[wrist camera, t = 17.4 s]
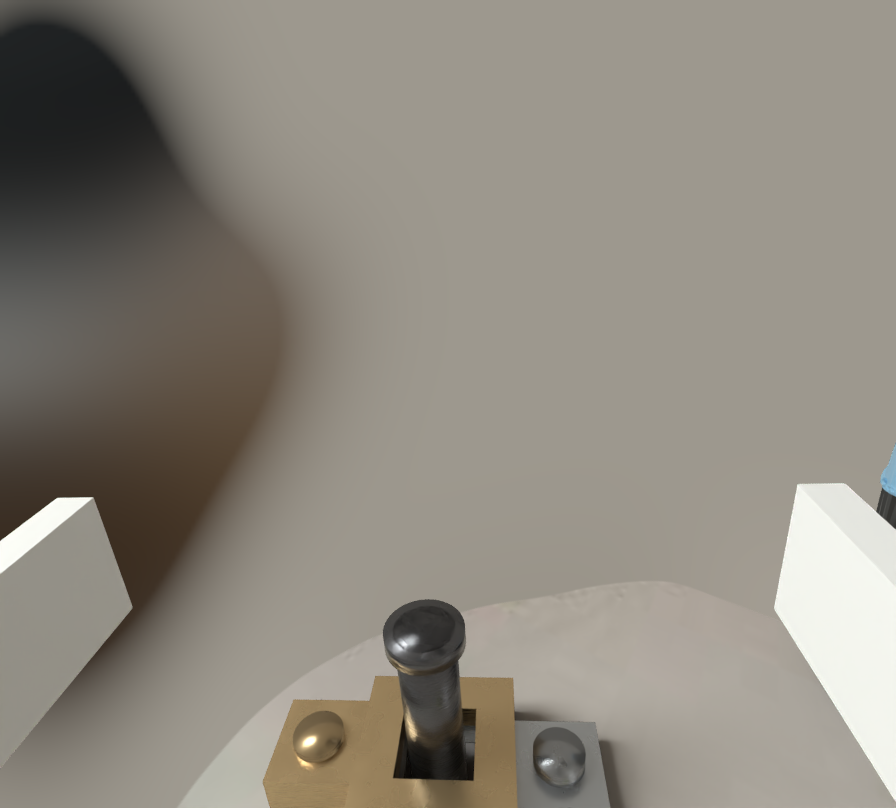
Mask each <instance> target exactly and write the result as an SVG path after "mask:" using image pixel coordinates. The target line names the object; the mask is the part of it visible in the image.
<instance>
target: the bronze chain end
mask: <svg viewBox="0 0 896 808" xmlns="http://www.w3.org/2000/svg"><path fill="white" fill-rule="evenodd" d="M460 688H461V701H462V713H463V725H465V726H476V732H475V760H474V781H460V780H428V779H398V777H399V771H400V765H401V759H402V752H403V746H404V740H405V733H406V728H405V721H404V714H403V706H402V699H401V692H400V685H399V677H398V676H375V680H374V684H373V688H372V693H371V697H370V701H346V700H293V703H292V706H291V708H290V711H289V713H288V716H287V719H286V721H285V724H284V727H283V729H282V732H281V735H280V737H279V740H278V742H277V745H276V748H275V750H274V753H273V756H272V758H271V761H270V764H269V766H268V769H267V771H266V774H265V777H264V779H263V785H264V788H265V792H266V795H267V799H268V802H269V806H270V808H518V806H517V777H516V748H515V719H514V689H513V678H478V677H460Z"/></svg>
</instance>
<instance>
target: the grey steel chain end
mask: <svg viewBox="0 0 896 808" xmlns="http://www.w3.org/2000/svg"><path fill="white" fill-rule="evenodd" d="M475 732H476V726H465V725H464V737H465V742H475ZM515 748H516V777H517V806H518V808H610V802H609V797H608V791H607V786H606V780H605V774H604V769H603V763H602V758H601V752H600V747H599V741H598V735H597V730H596V724H595V722H558V721H515ZM407 752H408V743H407V735H406V733H405V740H404V746H403V752H402V759H401V765H400V771H399V777H398V779H403V778H404V772H405V765H406V758H407Z"/></svg>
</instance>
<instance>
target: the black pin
mask: <svg viewBox="0 0 896 808" xmlns="http://www.w3.org/2000/svg"><path fill="white" fill-rule="evenodd" d="M383 639H384V646H385V652H386V656H387V658H388V660H389V662H390V663H391V664H392V665H393V666H394V667H395V668H396V669H397V670H398V677H399V685H400V692H401V699H402V706H403V714H404V721H405V728H406V735H407V743H408V750H409V757H410V764H411V772H412V779H428V780H460V781H467V778H468V773H467V761H466V749H465V737H464V725H463V713H462V701H461V688H460V676H459V664H458V660H459V659H460V657H461V656H462V654H463V652H464V649H465V645H466V635H465V623H464V619H463V617H462V615H461V614H460V612H459V611H458V610H457V609H456V608H454V607H453V606H452V605H450V604H448V603H445V602H442V601H439V600H429V599H428V600H418V601H414V602H411V603H408V604H406V605H403V606H402V607H400V608H398V609H397V610H396V611H394V612H393V613H392V614H391V615H390V617H389V618H388V619H387V621H386V623H385V625H384V629H383Z"/></svg>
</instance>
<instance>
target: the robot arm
mask: <svg viewBox="0 0 896 808" xmlns="http://www.w3.org/2000/svg"><path fill="white" fill-rule="evenodd" d="M880 482H881V484H882V491H881V495H880V499H879V503H878V507H877V511H875V510H873V509H872V508H871V507H870V506H869V505H868V504H867V503H866V502H865V501H864V500H862V499H861V498H860V497H859V496H858V495H857V494H856V493H855V492H853V491H852V490H851V489H850V488H849V487H848V486H847V485H846V484H845V483H835V484H798V486H797V492H796V496H795V502H794V507H793V512H792V517H791V523H790V528H789V533H788V538H787V543H786V549H785V554H784V559H783V565H782V570H781V575H780V580H779V586H778V591H777V596H776V601H775V606H774V609H775V611H776V613H777V614H778V615H779V617H780V619H781V620H782V622H783V624H784V625H785V627H786V628H787V630H788V632H789V633H790V635H791V636H792V638H793V640H794V641H795V643H796V644H797V646H798V647H799V649H800V651H801V652H802V654H803V655H804V657H805V659H806V660H807V662H808V663H809V665H810V667H811V668H812V670H813V671H814V673H815V674H816V676H817V678H818V679H819V681H820V682H821V684H822V686H823V687H824V689H825V690H826V692H827V694H828V695H829V697H830V698H831V700H832V701H833V703H834V705H835V706H836V708H837V709H838V711H839V713H840V714H841V716H842V717H843V719H844V720H845V722H846V724H847V725H848V727H849V728H850V730H851V732H852V733H853V735H854V736H855V738H856V740H857V741H858V743H859V744H860V746H861V747H862V749H863V751H864V752H865V754H866V755H867V757H868V759H869V760H870V762H871V763H872V765H873V767H874V768H875V770H876V771H877V773H878V774H879V776H880V778H881V779H882V781H883V782H884V784H885V786H886V787H887V789H888V790H889V792H890V794H891V795H892V797H893V798H894V800H895V801H896V443H895V446H894V449H893V452H892V455H891V458H890V461H889V464H888V466H887V467H886V469H885V470H884V471H883V473H882V475H881V481H880ZM131 609H132V605H131V602H130V599H129V596H128V594H127V591H126V588H125V585H124V582H123V580H122V577H121V574H120V571H119V568H118V565H117V563H116V560H115V557H114V554H113V551H112V548H111V546H110V543H109V540H108V537H107V535H106V532H105V529H104V526H103V523H102V520H101V518H100V515H99V512H98V509H97V506H96V504H95V501H94V498H57V499H56V500H54V501H53V502H52V503H50V504H49V505H48V506H46V507H45V508H44V509H42V510H41V511H40V512H38V513H37V514H36V515H34V516H33V517H32V518H30V519H29V520H28V521H26V522H25V523H24V524H22V525H21V526H20V527H19V528H17V529H16V530H14V531H13V532H12V533H10V534H9V535H8V536H7V537H5V538H4V539H3V540H1V541H0V768H1V767H2V766H3V764H4V763H5V762H6V761H7V759H8V758H9V757H10V756H11V755H12V754H13V752H14V751H15V750H16V749H17V747H18V746H19V745H20V744H21V743H22V741H23V740H24V739H25V738H26V736H27V735H28V734H29V733H30V732H31V730H32V729H33V728H34V727H35V726H36V724H37V723H38V722H39V721H40V720H41V718H42V717H43V716H44V715H45V713H46V712H47V711H48V710H49V709H50V707H51V706H52V705H53V704H54V702H55V701H56V700H57V699H58V698H59V696H60V695H61V694H62V693H63V692H64V690H65V689H66V688H67V687H68V686H69V684H70V683H71V682H72V681H73V679H74V678H75V677H76V676H77V675H78V673H79V672H80V671H81V670H82V669H83V667H84V666H85V665H86V664H87V662H88V661H89V660H90V659H91V658H92V656H93V655H94V654H95V653H96V651H97V650H98V649H99V648H100V647H101V645H102V644H103V643H104V642H105V641H106V639H107V638H108V637H109V636H110V635H111V633H112V632H113V631H114V630H115V628H116V627H117V626H118V625H119V623H120V622H121V621H122V620H123V618H124V617H125V616H126V615H127V614H128V612H129V611H130V610H131Z"/></svg>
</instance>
